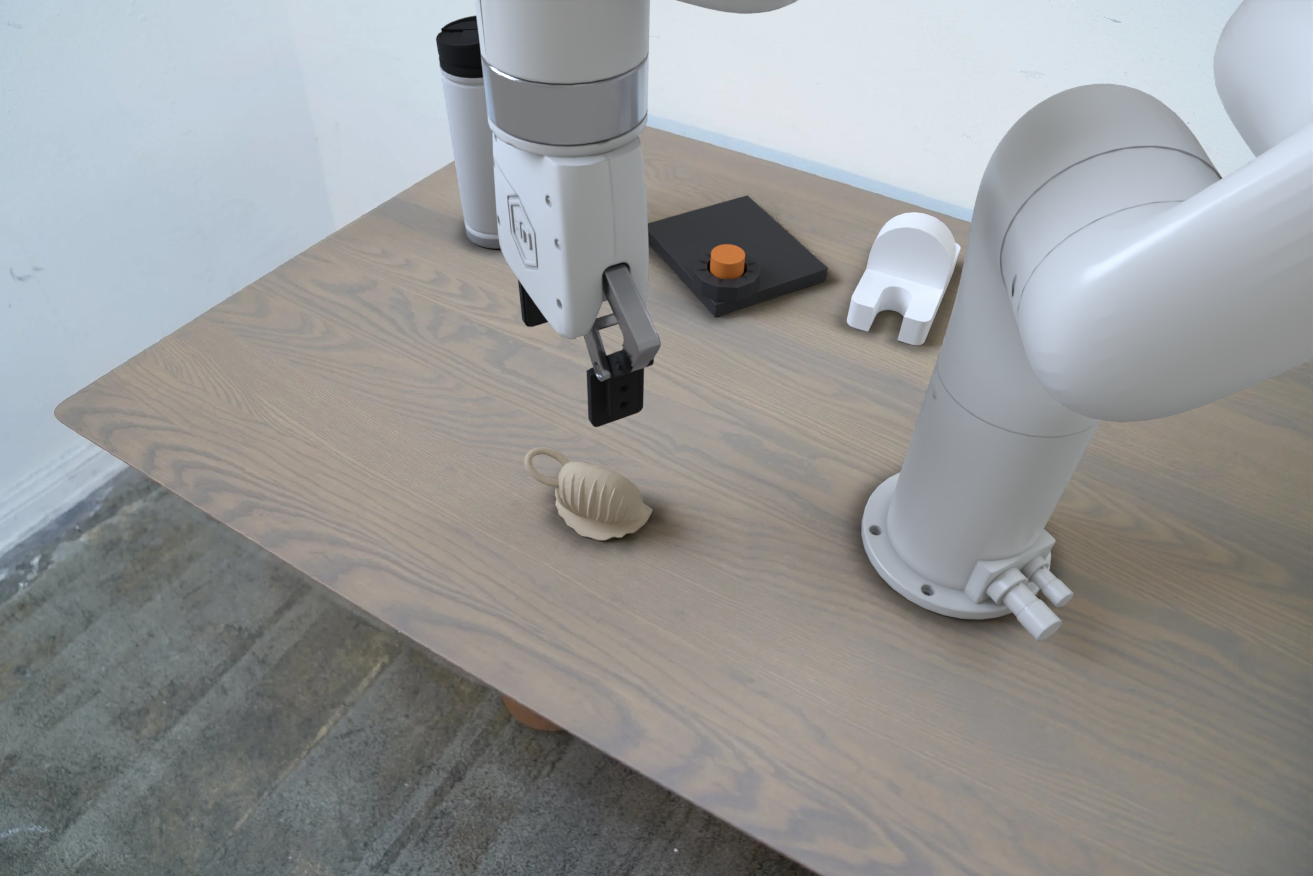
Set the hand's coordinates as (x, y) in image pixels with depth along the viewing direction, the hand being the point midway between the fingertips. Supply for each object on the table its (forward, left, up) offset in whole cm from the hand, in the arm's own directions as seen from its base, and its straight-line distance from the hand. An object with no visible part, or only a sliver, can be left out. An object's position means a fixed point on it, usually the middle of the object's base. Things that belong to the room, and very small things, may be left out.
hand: (580, 365), depth 54 cm
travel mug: (+36, -7, -14) cm, 39 cm away
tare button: (+17, -22, -11) cm, 30 cm away
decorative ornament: (0, 0, -14) cm, 14 cm away
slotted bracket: (+10, -36, -14) cm, 40 cm away
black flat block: (+22, -25, -14) cm, 36 cm away
